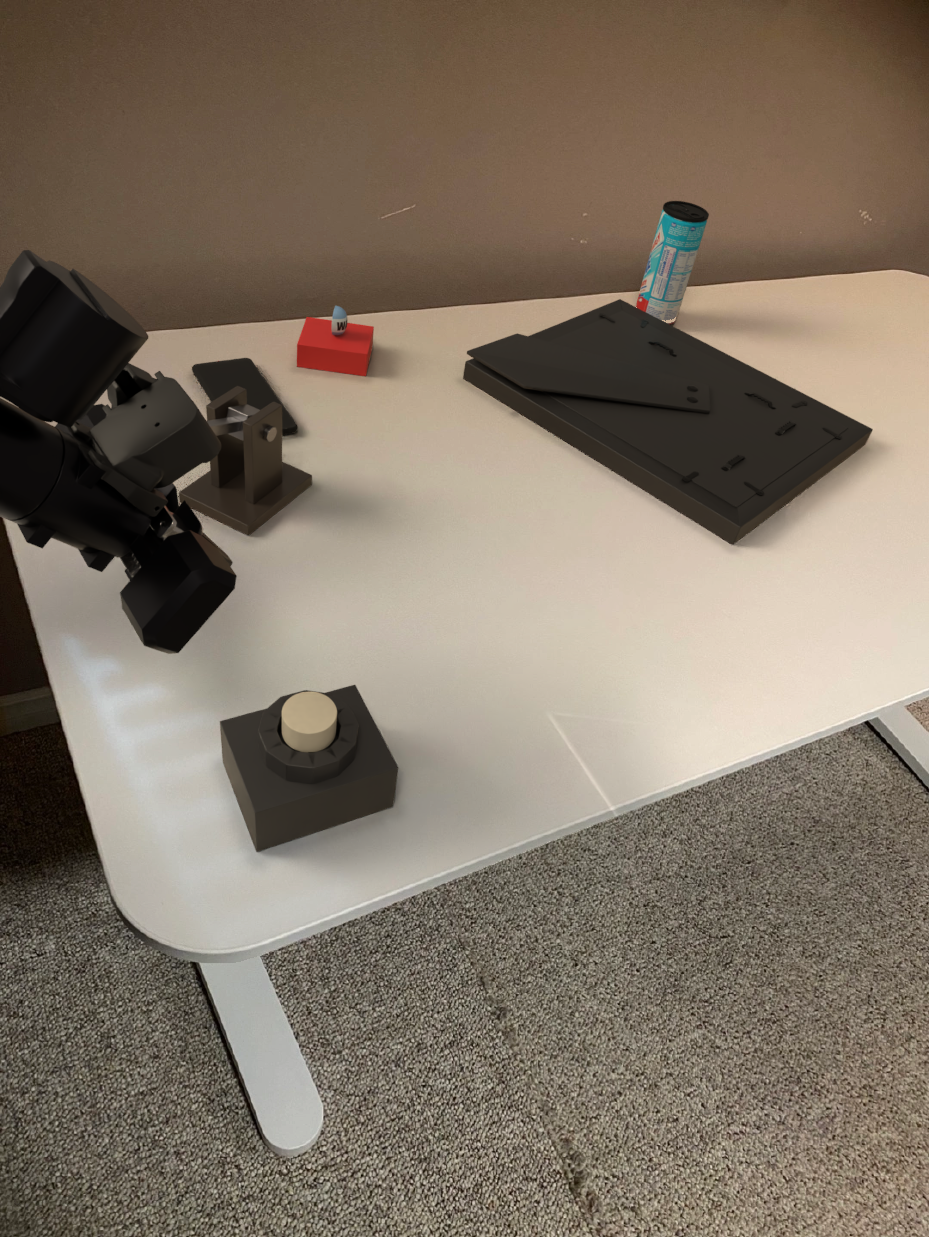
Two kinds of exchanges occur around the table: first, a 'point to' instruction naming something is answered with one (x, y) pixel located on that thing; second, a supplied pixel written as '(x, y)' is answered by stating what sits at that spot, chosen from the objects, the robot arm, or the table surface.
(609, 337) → the picture frame
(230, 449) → the switch bracket
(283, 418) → the smartphone
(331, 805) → the block
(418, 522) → the table surface
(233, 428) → the power switch
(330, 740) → the stop button
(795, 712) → the table surface
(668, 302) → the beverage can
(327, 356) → the red low topped box
